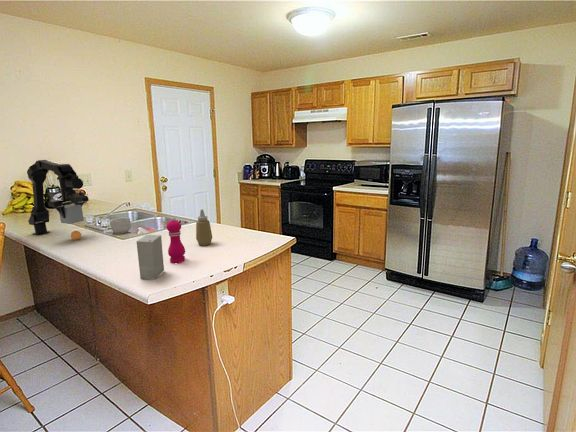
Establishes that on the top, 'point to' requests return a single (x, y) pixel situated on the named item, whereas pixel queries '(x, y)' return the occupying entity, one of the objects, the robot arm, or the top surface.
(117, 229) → the teacup
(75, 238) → the ball
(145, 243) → the skincare box
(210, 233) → the squeeze bottle
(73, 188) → the robot arm
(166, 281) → the top surface
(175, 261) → the pepper mill
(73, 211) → the grey block
